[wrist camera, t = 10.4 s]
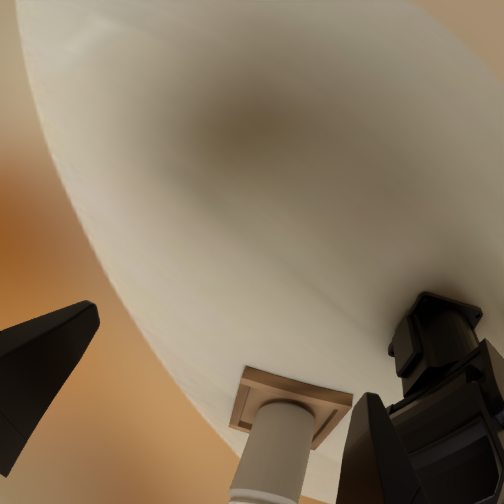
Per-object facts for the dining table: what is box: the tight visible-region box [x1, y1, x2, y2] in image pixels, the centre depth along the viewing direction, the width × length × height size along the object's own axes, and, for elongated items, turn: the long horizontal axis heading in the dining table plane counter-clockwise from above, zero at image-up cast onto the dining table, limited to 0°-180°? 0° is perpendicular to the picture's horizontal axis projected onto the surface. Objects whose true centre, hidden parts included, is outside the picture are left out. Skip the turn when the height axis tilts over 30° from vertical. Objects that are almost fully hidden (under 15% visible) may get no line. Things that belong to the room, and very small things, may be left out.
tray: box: [229, 366, 353, 450], centre depth 29 cm, size 11×11×2 cm
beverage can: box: [228, 402, 315, 504], centre depth 24 cm, size 6×6×12 cm
